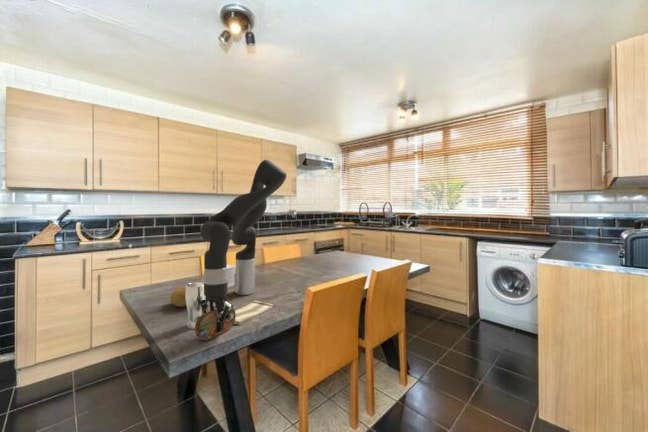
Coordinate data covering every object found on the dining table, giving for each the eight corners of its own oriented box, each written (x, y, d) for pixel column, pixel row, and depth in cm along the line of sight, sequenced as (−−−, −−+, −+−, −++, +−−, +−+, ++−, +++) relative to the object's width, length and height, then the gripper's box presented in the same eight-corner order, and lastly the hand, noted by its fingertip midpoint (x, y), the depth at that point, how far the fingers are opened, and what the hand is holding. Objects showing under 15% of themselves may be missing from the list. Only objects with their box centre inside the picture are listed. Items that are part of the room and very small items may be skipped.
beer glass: (190, 321, 104) (189, 281, 103) (209, 320, 104) (208, 281, 104) (182, 329, 97) (181, 287, 96) (202, 328, 97) (202, 287, 97)
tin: (199, 344, 86) (199, 318, 86) (192, 342, 88) (193, 316, 87) (236, 326, 99) (236, 303, 99) (229, 324, 101) (230, 301, 100)
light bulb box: (211, 285, 149) (211, 266, 148) (220, 282, 155) (220, 263, 155) (226, 288, 145) (226, 268, 144) (235, 285, 151) (235, 265, 150)
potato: (193, 298, 128) (193, 281, 128) (197, 308, 116) (196, 290, 116) (169, 302, 123) (169, 284, 123) (170, 313, 111) (170, 293, 111)
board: (219, 320, 105) (219, 316, 105) (254, 303, 123) (254, 300, 123) (239, 325, 101) (239, 321, 101) (272, 307, 119) (272, 304, 119)
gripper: (191, 280, 92) (192, 331, 93) (222, 286, 86) (223, 340, 87) (209, 275, 99) (210, 322, 100) (239, 280, 93) (239, 330, 94)
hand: (216, 330), depth 93 cm, fingers closed on tin, 2 cm apart
